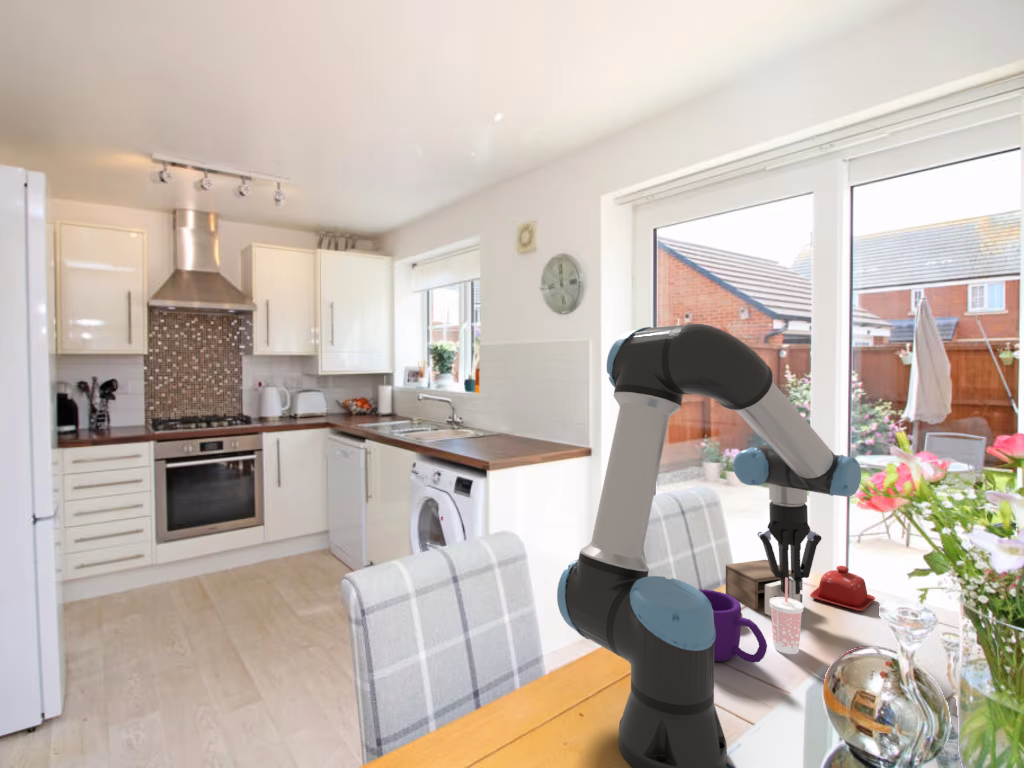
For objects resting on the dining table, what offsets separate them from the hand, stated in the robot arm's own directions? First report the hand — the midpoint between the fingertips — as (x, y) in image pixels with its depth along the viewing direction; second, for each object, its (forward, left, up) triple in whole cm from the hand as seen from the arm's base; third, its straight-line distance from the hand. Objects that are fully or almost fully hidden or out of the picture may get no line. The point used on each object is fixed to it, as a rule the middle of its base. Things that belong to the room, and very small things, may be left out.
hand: (790, 607), depth 122 cm
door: (+6, +4, -2) cm, 8 cm away
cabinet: (0, +10, -2) cm, 10 cm away
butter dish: (+19, +4, -3) cm, 19 cm away
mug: (-26, -10, -2) cm, 28 cm away
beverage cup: (-12, -11, -2) cm, 16 cm away
